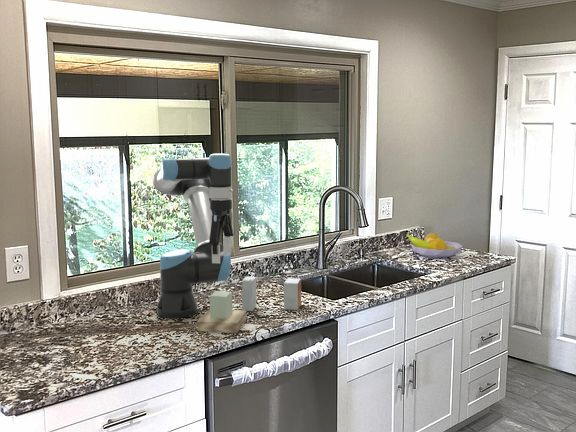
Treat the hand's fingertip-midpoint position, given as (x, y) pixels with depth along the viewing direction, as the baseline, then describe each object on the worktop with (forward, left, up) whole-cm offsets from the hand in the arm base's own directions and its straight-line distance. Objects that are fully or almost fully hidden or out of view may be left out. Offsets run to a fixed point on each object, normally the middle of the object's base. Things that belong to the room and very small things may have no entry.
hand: (221, 258), depth 214 cm
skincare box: (+6, +17, -24) cm, 30 cm away
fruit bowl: (+82, +125, -24) cm, 151 cm away
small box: (+22, +22, -24) cm, 39 cm away
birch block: (+1, -3, -24) cm, 24 cm away
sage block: (0, -3, -20) cm, 20 cm away
